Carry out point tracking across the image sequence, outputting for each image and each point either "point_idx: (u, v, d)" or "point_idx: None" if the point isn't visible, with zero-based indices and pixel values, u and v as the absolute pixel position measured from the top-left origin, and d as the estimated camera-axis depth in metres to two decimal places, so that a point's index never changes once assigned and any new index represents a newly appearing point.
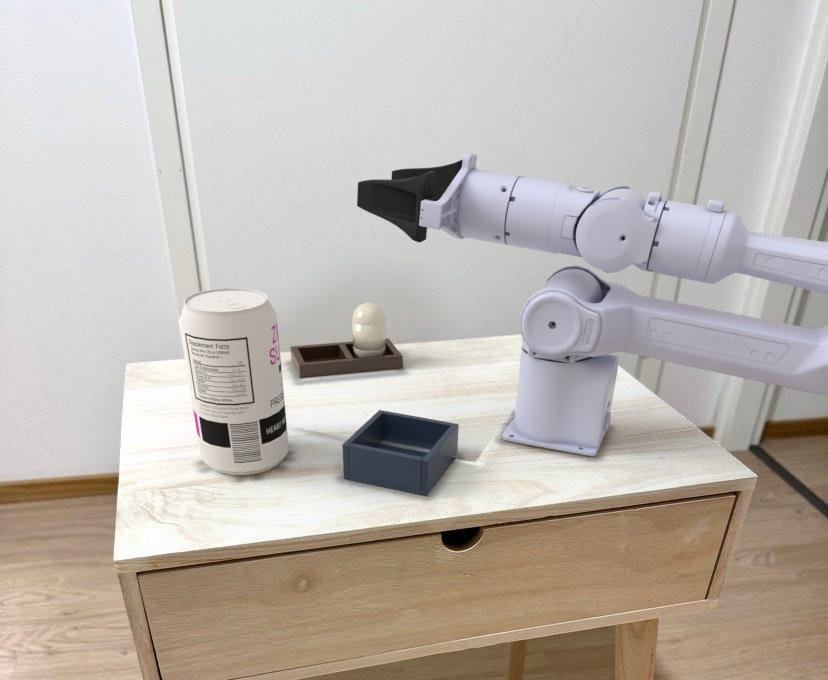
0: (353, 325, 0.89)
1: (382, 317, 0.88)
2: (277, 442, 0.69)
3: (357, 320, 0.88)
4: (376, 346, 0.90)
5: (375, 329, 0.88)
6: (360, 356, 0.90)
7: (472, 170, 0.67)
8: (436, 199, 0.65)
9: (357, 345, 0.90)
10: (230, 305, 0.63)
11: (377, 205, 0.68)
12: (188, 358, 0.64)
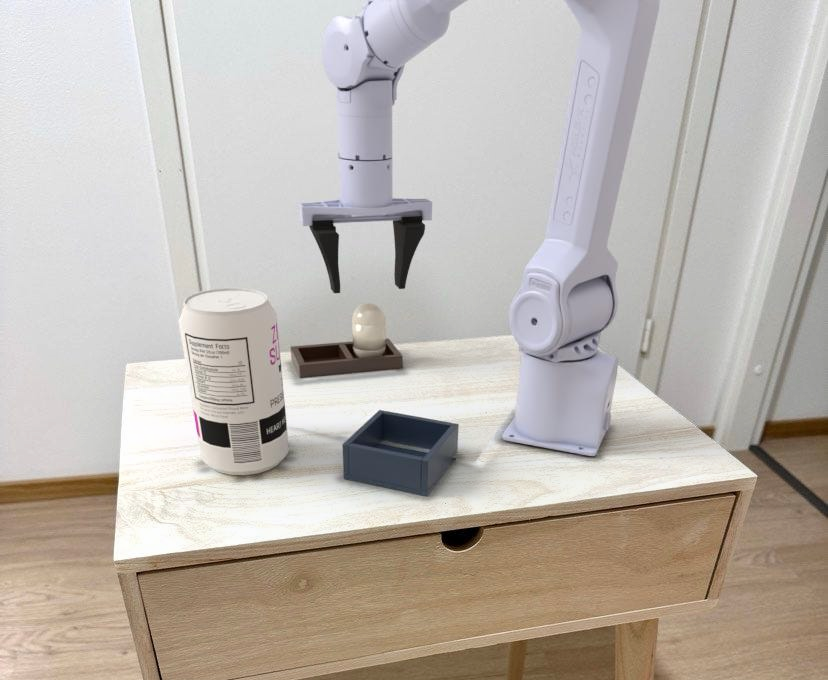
0: (353, 325, 0.89)
1: (382, 317, 0.88)
2: (277, 442, 0.69)
3: (357, 320, 0.88)
4: (376, 346, 0.90)
5: (375, 329, 0.88)
6: (360, 356, 0.90)
7: None
8: None
9: (357, 345, 0.90)
10: (230, 305, 0.63)
11: (331, 273, 0.85)
12: (188, 358, 0.64)
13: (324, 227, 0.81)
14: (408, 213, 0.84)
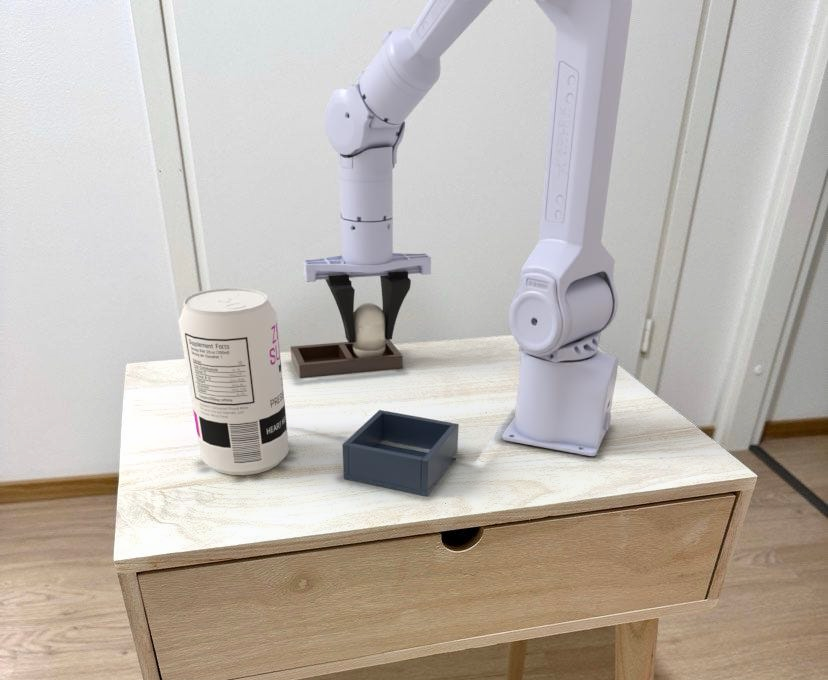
0: None
1: (381, 317, 0.88)
2: (277, 442, 0.69)
3: (357, 320, 0.88)
4: (376, 346, 0.89)
5: (375, 329, 0.88)
6: (360, 356, 0.90)
7: None
8: None
9: (357, 345, 0.90)
10: (230, 305, 0.63)
11: None
12: (188, 358, 0.64)
13: (340, 282, 0.85)
14: (408, 268, 0.87)
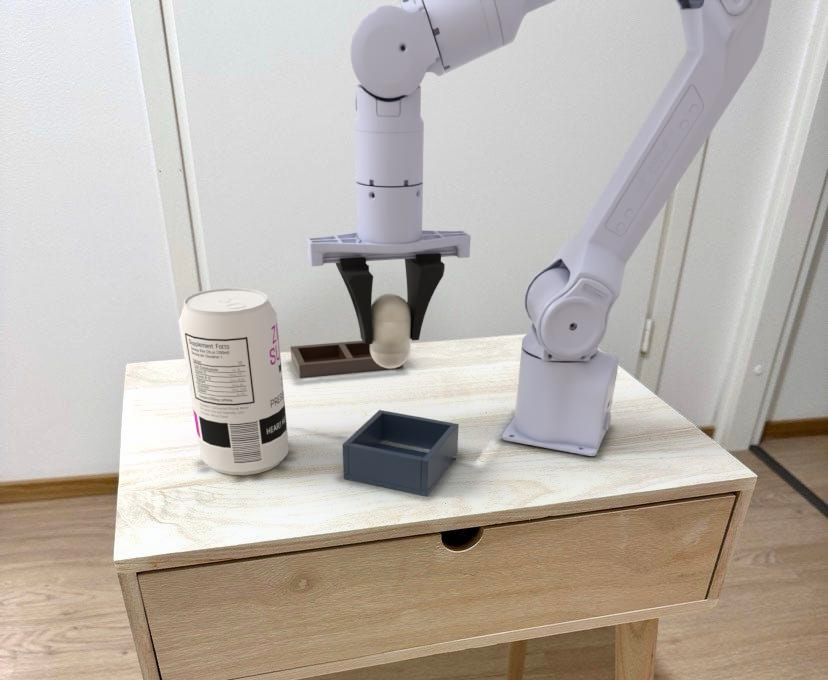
0: None
1: (406, 312, 0.70)
2: (277, 442, 0.69)
3: (375, 315, 0.69)
4: (399, 348, 0.71)
5: (398, 327, 0.70)
6: (378, 361, 0.72)
7: None
8: None
9: (375, 347, 0.71)
10: (230, 305, 0.63)
11: (362, 321, 0.70)
12: (188, 358, 0.64)
13: (355, 266, 0.66)
14: (441, 249, 0.68)
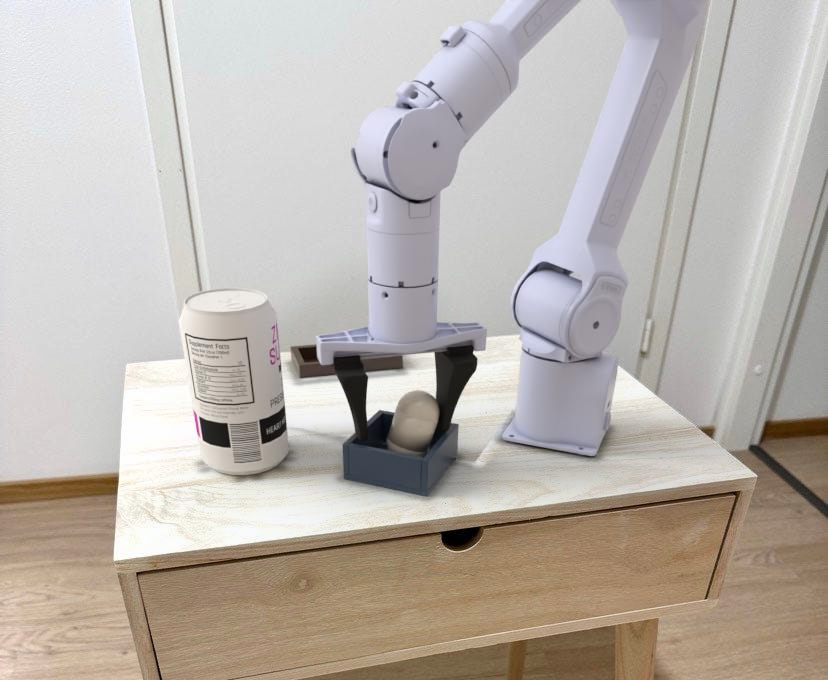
0: (398, 413, 0.68)
1: (437, 414, 0.68)
2: (277, 442, 0.69)
3: (406, 408, 0.67)
4: (419, 447, 0.68)
5: (425, 426, 0.67)
6: None
7: None
8: None
9: (395, 439, 0.68)
10: (230, 305, 0.63)
11: None
12: (188, 358, 0.64)
13: (349, 365, 0.63)
14: (455, 342, 0.65)
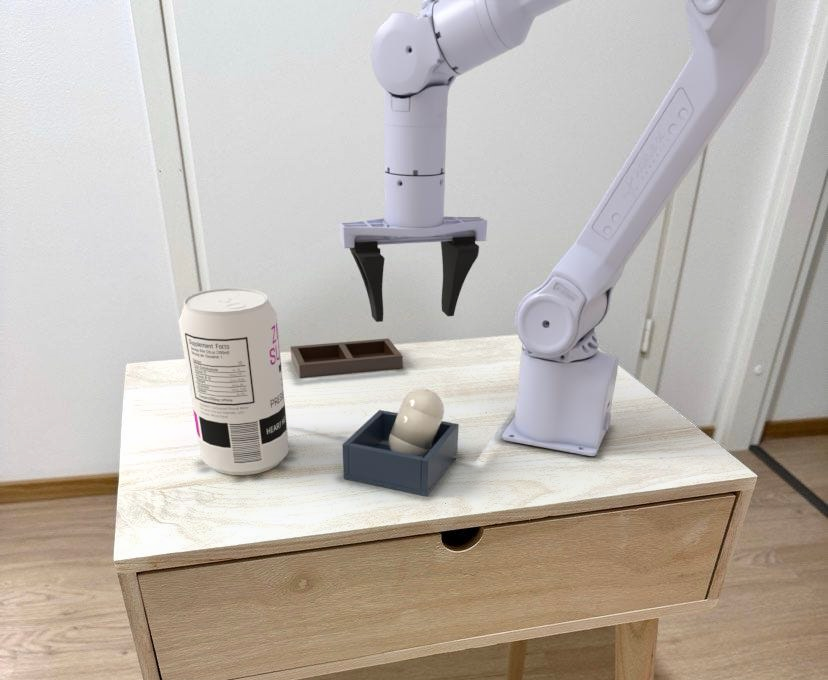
0: (403, 408, 0.68)
1: (442, 412, 0.69)
2: (277, 442, 0.69)
3: (412, 402, 0.68)
4: (422, 443, 0.69)
5: (430, 421, 0.68)
6: (396, 448, 0.69)
7: None
8: None
9: (398, 433, 0.68)
10: (230, 305, 0.63)
11: None
12: (188, 358, 0.64)
13: (367, 249, 0.73)
14: (460, 233, 0.75)
